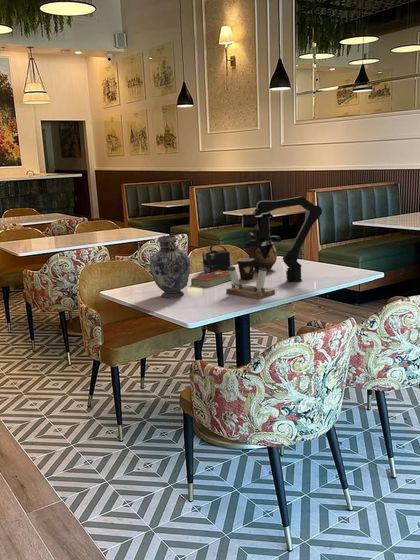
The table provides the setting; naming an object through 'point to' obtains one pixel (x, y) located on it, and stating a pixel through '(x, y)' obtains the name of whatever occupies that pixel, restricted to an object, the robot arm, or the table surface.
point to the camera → (216, 260)
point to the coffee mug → (247, 268)
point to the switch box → (250, 291)
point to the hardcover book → (211, 279)
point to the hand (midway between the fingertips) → (265, 258)
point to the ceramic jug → (258, 256)
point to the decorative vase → (170, 267)
